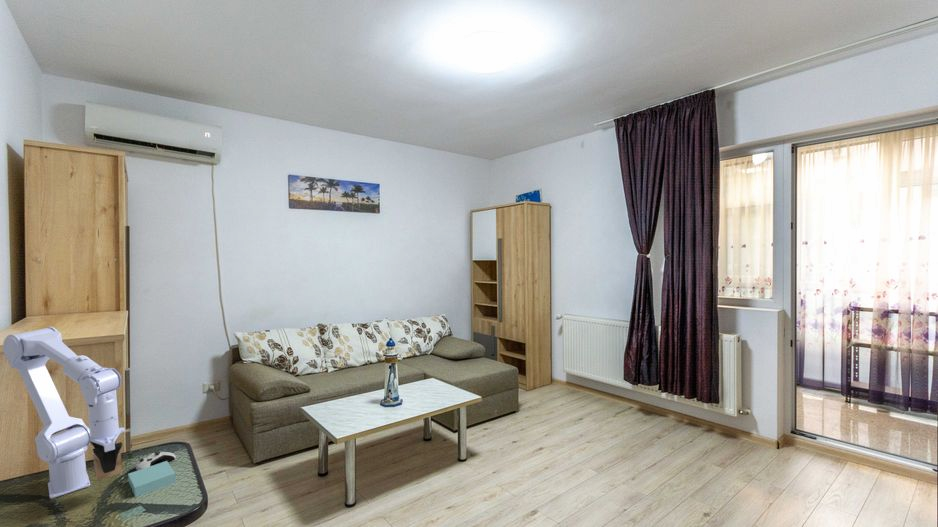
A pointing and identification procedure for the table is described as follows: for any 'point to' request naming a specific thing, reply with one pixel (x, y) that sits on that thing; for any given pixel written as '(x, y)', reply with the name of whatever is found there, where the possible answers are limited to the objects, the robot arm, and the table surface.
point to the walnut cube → (99, 470)
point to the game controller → (154, 459)
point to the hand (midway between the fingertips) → (107, 467)
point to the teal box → (151, 478)
